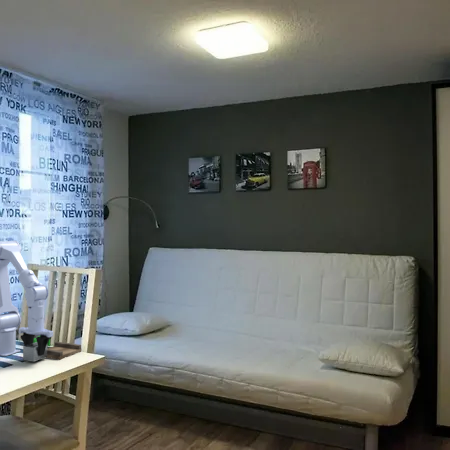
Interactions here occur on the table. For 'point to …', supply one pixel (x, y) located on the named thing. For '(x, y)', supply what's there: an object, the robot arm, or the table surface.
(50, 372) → the table surface
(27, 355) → the block
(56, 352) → the board
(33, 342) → the pipe clamp
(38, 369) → the table surface
